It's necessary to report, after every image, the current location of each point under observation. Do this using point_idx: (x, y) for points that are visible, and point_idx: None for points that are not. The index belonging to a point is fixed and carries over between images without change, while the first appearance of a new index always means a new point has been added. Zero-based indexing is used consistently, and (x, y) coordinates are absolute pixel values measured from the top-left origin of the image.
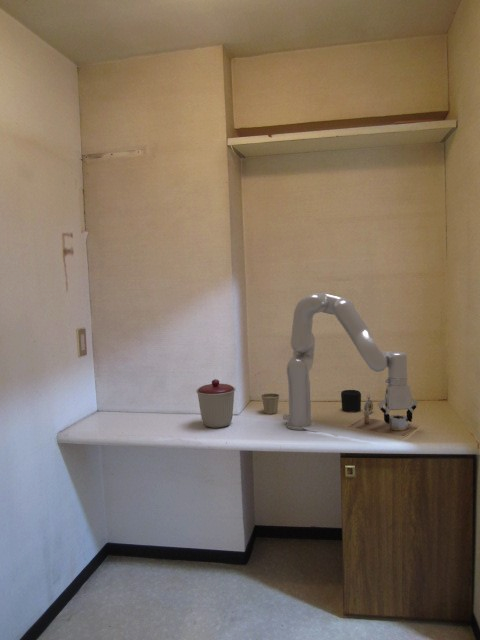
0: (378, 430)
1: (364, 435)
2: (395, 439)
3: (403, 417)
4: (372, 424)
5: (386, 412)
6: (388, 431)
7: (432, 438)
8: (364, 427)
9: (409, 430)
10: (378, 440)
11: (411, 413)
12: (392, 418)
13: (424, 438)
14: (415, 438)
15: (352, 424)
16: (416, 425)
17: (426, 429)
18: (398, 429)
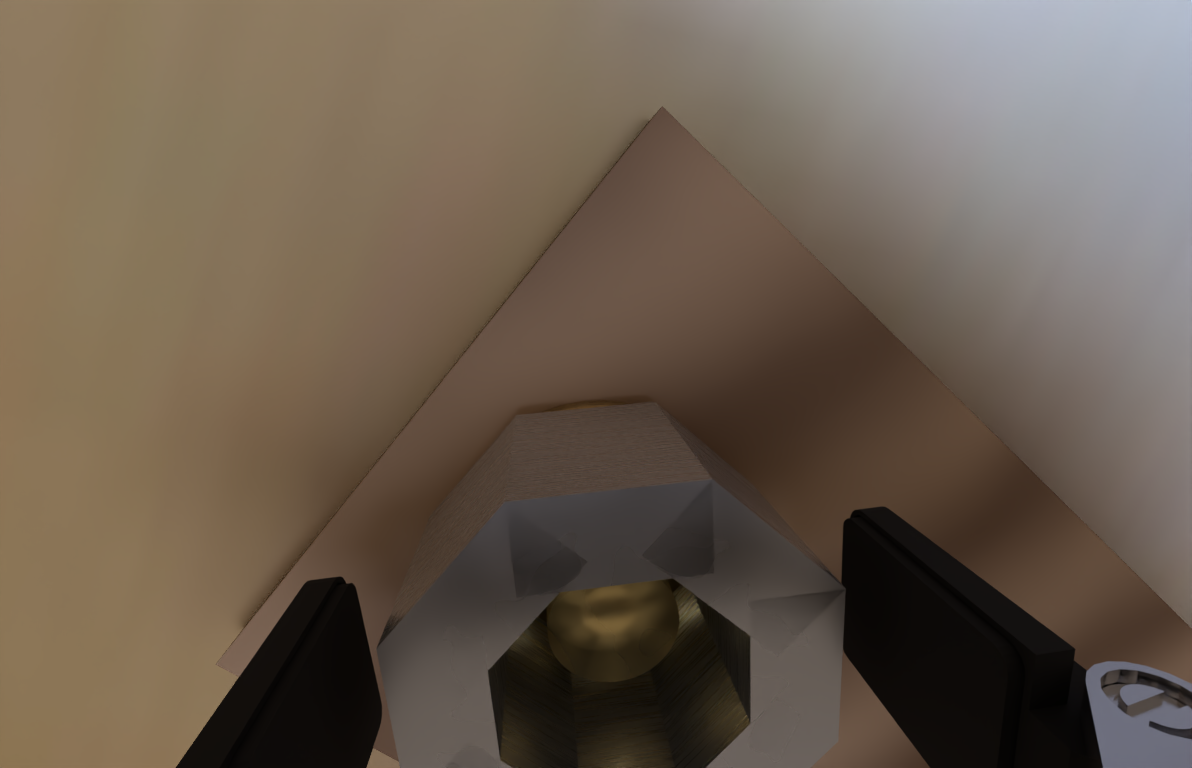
0: (948, 474)
1: (1142, 392)
2: (800, 112)
3: (489, 676)
4: (897, 749)
5: (1184, 721)
6: (820, 403)
7: (95, 25)
8: (1069, 632)
9: (440, 403)
10: (1077, 116)
11: (188, 757)
12: (815, 607)
13: (262, 59)
14: (436, 95)
15: None
16: (223, 655)
17: (89, 551)
18: None
